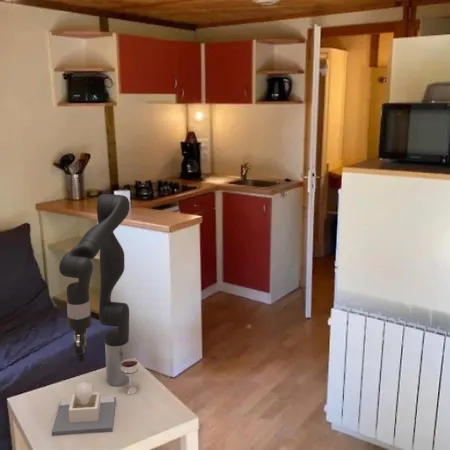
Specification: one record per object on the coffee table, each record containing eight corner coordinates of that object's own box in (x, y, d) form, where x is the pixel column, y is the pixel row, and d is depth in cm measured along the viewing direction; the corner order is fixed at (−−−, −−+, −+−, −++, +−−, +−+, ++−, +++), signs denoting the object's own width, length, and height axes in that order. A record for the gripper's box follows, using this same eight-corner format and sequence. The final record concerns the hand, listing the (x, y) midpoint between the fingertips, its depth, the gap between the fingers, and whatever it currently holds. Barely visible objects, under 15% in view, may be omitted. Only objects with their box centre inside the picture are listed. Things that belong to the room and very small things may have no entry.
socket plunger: (76, 408, 186) (76, 404, 186) (96, 406, 187) (96, 403, 187) (73, 420, 180) (73, 416, 179) (94, 418, 180) (94, 415, 180)
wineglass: (141, 386, 203) (140, 358, 200) (136, 396, 196) (135, 368, 193) (124, 384, 204) (123, 357, 200) (119, 394, 197) (117, 366, 194)
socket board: (61, 403, 191) (59, 388, 189) (116, 400, 194) (115, 385, 192) (51, 435, 174) (50, 419, 172) (112, 431, 176) (111, 414, 175)
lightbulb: (87, 401, 187) (85, 375, 184) (98, 409, 183) (96, 382, 180) (72, 410, 182) (70, 383, 179) (82, 418, 179) (81, 390, 175)
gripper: (70, 304, 179) (73, 349, 184) (64, 323, 166) (67, 370, 170) (92, 304, 180) (95, 348, 185) (88, 322, 167) (90, 369, 171)
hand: (82, 358), depth 178 cm, fingers open, 3 cm apart
